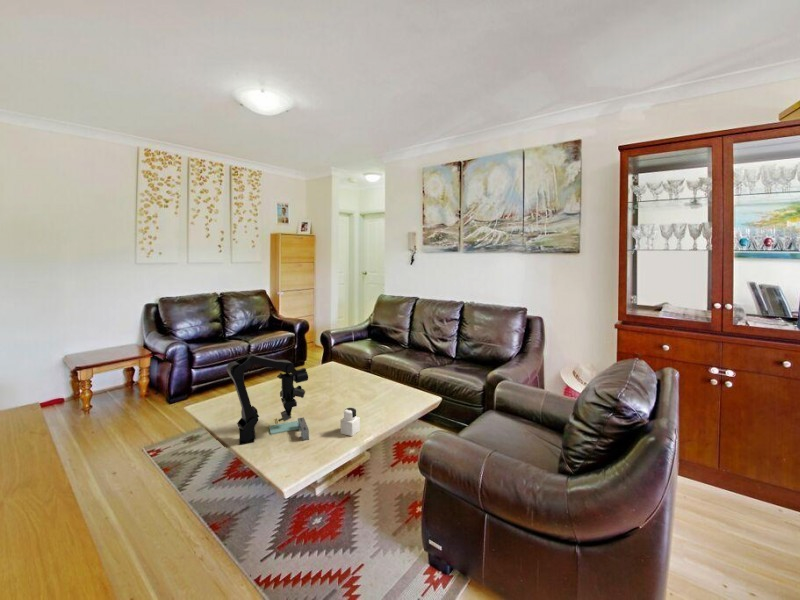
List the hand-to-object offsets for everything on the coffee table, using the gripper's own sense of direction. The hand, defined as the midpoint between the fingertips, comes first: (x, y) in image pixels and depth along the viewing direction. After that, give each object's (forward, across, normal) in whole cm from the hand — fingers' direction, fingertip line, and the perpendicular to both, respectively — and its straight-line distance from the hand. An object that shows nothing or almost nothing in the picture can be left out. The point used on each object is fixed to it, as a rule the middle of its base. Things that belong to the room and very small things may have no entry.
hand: (288, 414), depth 189 cm
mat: (+7, 0, +2) cm, 7 cm away
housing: (+7, -10, -6) cm, 13 cm away
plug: (+3, 0, +2) cm, 3 cm away
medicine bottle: (+7, -18, -28) cm, 34 cm away
